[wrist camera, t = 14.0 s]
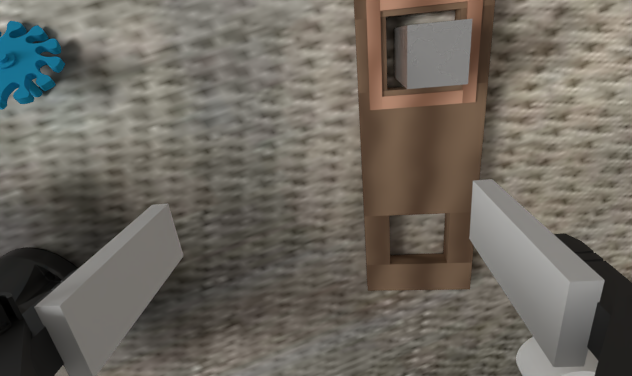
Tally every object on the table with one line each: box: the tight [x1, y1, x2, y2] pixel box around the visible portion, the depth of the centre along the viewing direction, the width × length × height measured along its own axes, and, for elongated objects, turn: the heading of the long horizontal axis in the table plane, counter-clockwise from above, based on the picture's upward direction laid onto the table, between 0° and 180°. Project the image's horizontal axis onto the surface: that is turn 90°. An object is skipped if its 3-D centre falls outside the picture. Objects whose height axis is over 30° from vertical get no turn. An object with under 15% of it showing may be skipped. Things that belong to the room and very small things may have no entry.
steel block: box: [394, 19, 472, 89], centre depth 30 cm, size 4×4×9 cm
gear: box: [0, 21, 65, 109], centre depth 37 cm, size 11×6×10 cm
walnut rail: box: [354, 0, 495, 291], centre depth 37 cm, size 12×34×2 cm, turn 5°
